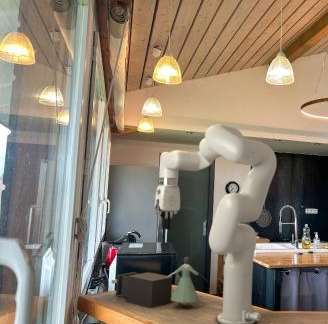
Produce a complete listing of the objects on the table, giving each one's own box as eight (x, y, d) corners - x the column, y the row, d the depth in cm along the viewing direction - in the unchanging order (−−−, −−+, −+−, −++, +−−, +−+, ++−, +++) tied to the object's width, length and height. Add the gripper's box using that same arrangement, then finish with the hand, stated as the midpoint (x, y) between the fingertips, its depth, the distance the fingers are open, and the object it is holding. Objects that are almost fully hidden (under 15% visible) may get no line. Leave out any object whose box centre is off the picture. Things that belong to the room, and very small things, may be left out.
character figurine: (209, 304, 144) (211, 255, 146) (207, 310, 136) (209, 259, 137) (167, 303, 144) (170, 254, 145) (162, 309, 135) (165, 257, 137)
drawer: (107, 293, 152) (109, 273, 152) (125, 289, 159) (127, 270, 160) (137, 300, 142) (138, 279, 143) (154, 296, 149) (155, 276, 150)
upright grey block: (126, 301, 144) (128, 275, 145) (146, 296, 153) (148, 272, 153) (151, 307, 137) (152, 281, 138) (171, 302, 145) (172, 276, 146)
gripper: (161, 181, 146) (158, 230, 144) (187, 183, 158) (185, 228, 156) (147, 181, 150) (144, 229, 148) (174, 183, 162) (172, 227, 160)
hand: (165, 228), depth 152 cm, fingers closed
